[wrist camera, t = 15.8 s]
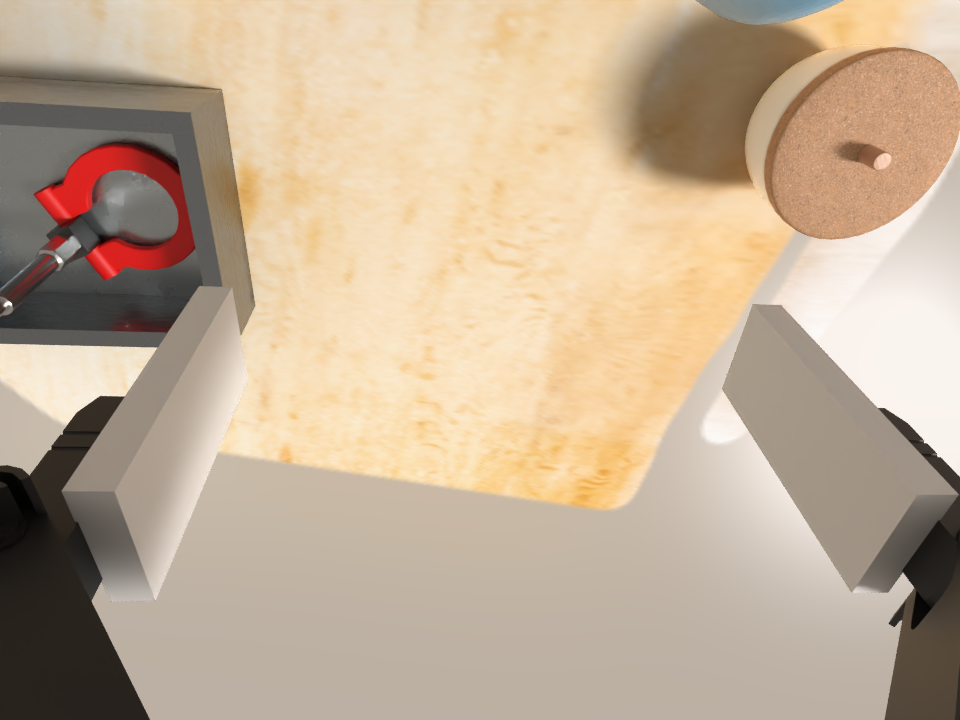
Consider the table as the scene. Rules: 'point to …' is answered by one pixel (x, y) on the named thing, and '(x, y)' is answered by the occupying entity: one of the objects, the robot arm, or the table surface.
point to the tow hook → (81, 240)
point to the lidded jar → (852, 137)
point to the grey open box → (117, 208)
